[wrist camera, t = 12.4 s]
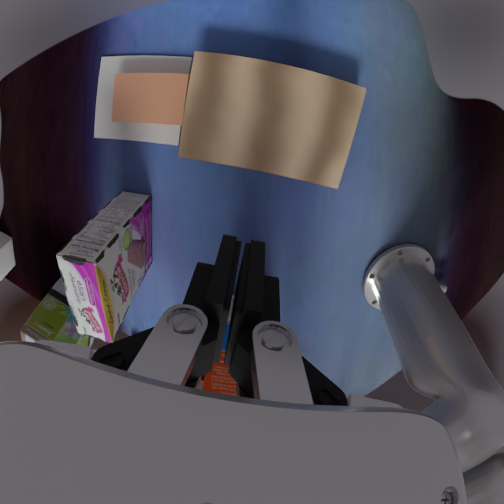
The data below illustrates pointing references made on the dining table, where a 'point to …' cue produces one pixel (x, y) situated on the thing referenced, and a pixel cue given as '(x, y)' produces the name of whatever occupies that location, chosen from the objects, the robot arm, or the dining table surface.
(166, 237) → the dining table surface
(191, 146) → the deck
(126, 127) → the mat
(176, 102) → the block
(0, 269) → the medicine bottle
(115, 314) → the candy bar box
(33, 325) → the tea box
